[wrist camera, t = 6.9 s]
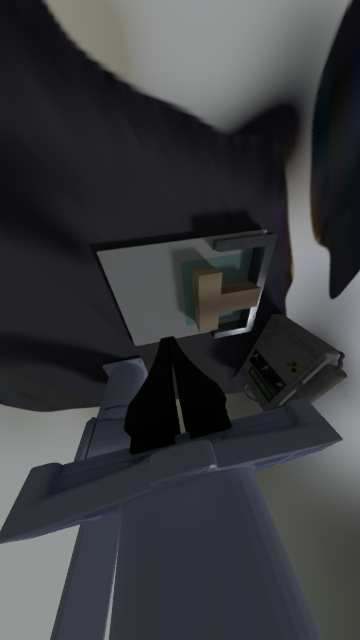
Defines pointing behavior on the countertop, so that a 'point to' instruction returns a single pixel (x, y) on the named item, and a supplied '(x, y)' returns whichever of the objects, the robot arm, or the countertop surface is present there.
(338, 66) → the countertop surface
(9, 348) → the countertop surface
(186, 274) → the mat
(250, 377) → the geiger counter
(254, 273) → the bracket
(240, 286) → the t block
